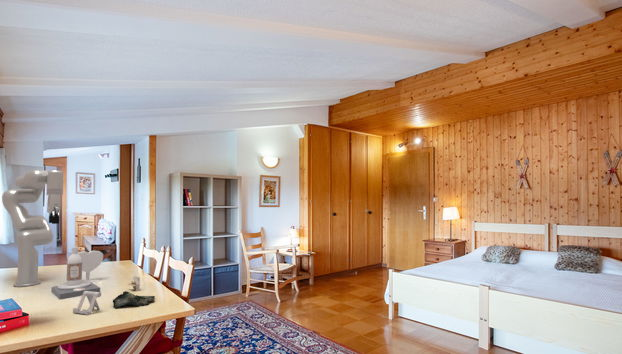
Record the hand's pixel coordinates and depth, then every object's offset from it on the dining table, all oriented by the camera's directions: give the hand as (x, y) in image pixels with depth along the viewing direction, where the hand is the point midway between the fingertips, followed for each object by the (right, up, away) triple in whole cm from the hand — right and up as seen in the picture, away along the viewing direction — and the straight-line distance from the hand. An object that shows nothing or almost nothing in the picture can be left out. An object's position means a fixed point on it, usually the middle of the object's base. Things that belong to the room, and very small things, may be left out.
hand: (53, 223), depth 205 cm
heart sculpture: (+8, -37, +17) cm, 42 cm away
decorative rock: (+60, -35, -30) cm, 75 cm away
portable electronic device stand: (+45, -34, -42) cm, 70 cm away
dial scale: (+17, -36, -8) cm, 40 cm away
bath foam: (+15, -32, -6) cm, 36 cm away
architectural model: (+48, -36, -5) cm, 60 cm away
